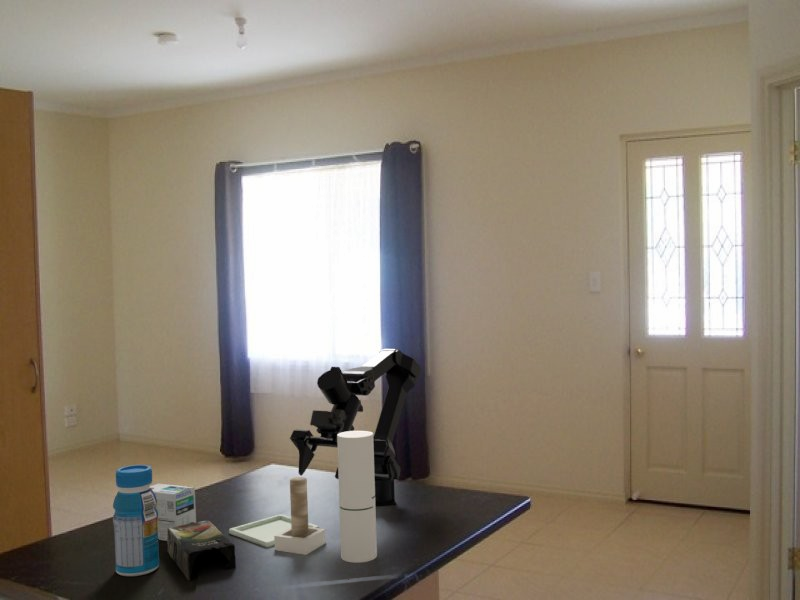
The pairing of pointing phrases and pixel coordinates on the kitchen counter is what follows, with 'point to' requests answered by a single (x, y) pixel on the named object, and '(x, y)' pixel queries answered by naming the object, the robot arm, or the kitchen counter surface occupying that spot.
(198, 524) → the juice carton
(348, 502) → the cylindrical container
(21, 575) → the kitchen counter surface
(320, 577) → the kitchen counter surface
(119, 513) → the beverage bottle
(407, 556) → the kitchen counter surface
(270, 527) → the tray
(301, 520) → the dowel
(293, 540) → the holder
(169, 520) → the light bulb box
